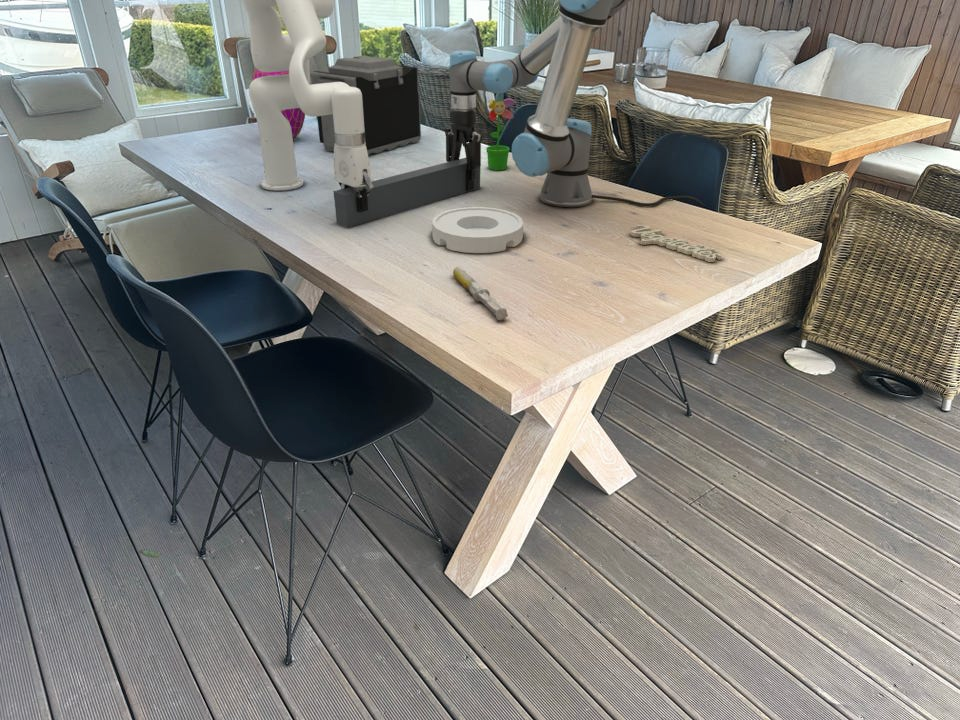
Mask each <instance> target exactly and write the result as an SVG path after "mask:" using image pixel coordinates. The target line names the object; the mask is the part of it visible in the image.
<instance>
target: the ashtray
mask: <svg viewBox="0 0 960 720" xmlns="http://www.w3.org/2000/svg"><path fill="white" fill-rule="evenodd" d="M431 227H432V228H431V229H432V231H431V232H432V233H431V235H432V241H434V242H435V244H436V245H438V246H445V247H446V249H447V250H450V251H452V252H453V251H454V252H460V253H468V254H490V253H499V252H503V251H506V249H507V248H514V247H517V246H518V245H519V244H520V243H522V241H523V238H524V235H523V234H524V221H523V219H522V217H520V215H518V214H516V213H514V212H512V211H509V210H505V209H501V208H494V207H486V206H467V207H458V208H451V209H448V210H445V211H441V212H439V213H438V214H436V215H435V216H434V217H433V218H432V220H431Z"/></svg>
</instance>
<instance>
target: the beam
mask: <svg viewBox="0 0 960 720" xmlns="http://www.w3.org/2000/svg"><path fill="white" fill-rule="evenodd" d="M466 168H468V165H467V160H466V157H461V158H459V159H458V160H454V161H450V162H447V161H445V162H443V163H439V164H435V165H431V166H427V167H423V168H420V169H415V170H412V171H408V172H404V173H399V174H395V175H392V176H388V177H384V178H380V179H376V180H373V181H372V180H371V182H372V184H373V189H372V190H371V191H370V192H369V195H368V196H367V199H368V210H367V211H364V212H360V213H359V212H358V211H357V200H356V198H357V197H358V195H357V191H356V187H348V188H344V189H341V188H340V189H337V190H333V201H334V211H335V221H336V224H337V225H339V226H342V227H344V228H347V229H349V228H352V227H355V226H359V225H362V224H365V223H368V222H373V221H375V220H378V219H382V218H385V217H388V216H391V215H396V214H400V213H402V212H406V211H409V210H411V209H415V208H419V207H421V206H426V205H429V204H432V203H435V202H438V201H441V200H445V199H449V198H451V197H455V196H458V195H461V194H465V193H469V192H472V191H475V190H478V189H481V167H479V168H476V169H475V180H474V190H471V191H466ZM362 189H363V187H360V190H361V191H362Z"/></svg>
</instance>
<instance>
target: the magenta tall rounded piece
mask: <svg viewBox="0 0 960 720" xmlns="http://www.w3.org/2000/svg"><path fill="white" fill-rule="evenodd" d="M254 67H255V66H254ZM253 70H254V71H253V73H252V77H251V82H252V81H253V80H255V79H257V78H259V77H264V76H273V75H286V74H289V71H280V72H261V71H259V70H258V69H256V67H255V68H254V69H253ZM281 113H282V114H283V116H284V117H285V118H286V119H287V120H288V121H289V123H290V125H291V130H292V137H293V139H296V138H297V137H298V136H299V134H301V131H302V129H303V127H304V123H305V118H306V114H304V113H303V112H302V110H301V109H300V108H294V109H286V110H282V111H281Z"/></svg>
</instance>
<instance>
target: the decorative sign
mask: <svg viewBox="0 0 960 720" xmlns="http://www.w3.org/2000/svg"><path fill="white" fill-rule="evenodd" d="M650 229H651V227H650V226H648V225H644V224H637V225H636V229H632V230H631V231H630V236H631V237H634V238H640V245H643V246H644V245H646V246H647V245H658V246H660V247H666V248H667V249H669V250H671V251H677V252H678V253H682V254H685V255H691V256H692V257H693V258H697V259H699V260H704V261H705V262H709V263H714V262H716V260H719V261H720V260H721V259H722V254H721V253H718V252H715V250H716V249H715V248H714V247H705V245H706V244H700V243H699V244H690V243H689V241H688V240H686V239H682V238H681V239H680V238H677V237H673V238H671V237H667V236H663V235H662V234H663V230H662V229H652V230H650Z"/></svg>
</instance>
